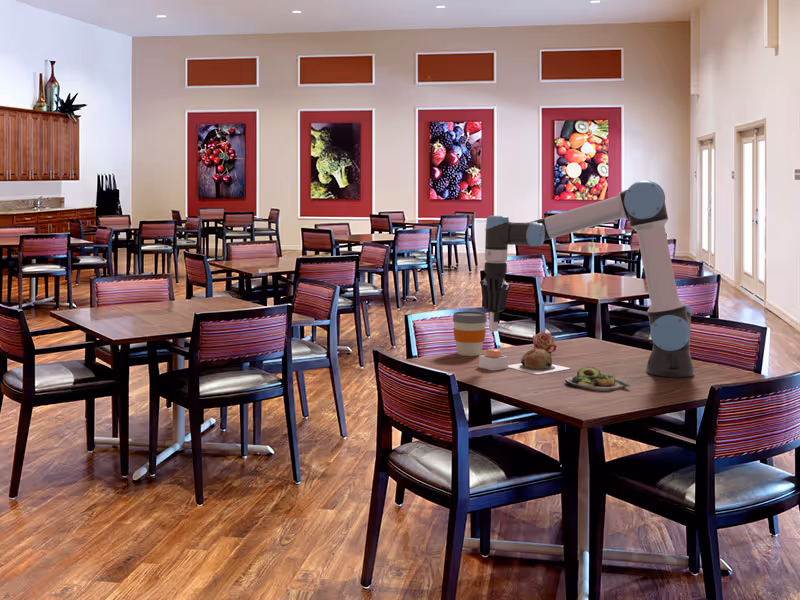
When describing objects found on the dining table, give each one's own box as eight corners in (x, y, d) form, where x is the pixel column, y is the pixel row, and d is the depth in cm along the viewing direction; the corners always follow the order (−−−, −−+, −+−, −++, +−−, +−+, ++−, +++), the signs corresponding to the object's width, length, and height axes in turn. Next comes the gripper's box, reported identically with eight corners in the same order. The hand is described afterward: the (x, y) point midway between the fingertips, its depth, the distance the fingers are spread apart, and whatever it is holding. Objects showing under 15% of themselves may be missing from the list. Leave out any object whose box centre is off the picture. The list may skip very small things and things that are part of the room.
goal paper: (536, 361, 306) (536, 360, 306) (570, 369, 293) (571, 368, 293) (504, 366, 296) (504, 365, 296) (537, 375, 283) (537, 373, 283)
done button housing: (494, 364, 299) (494, 353, 299) (508, 368, 294) (508, 356, 293) (479, 367, 295) (479, 355, 295) (492, 370, 290) (493, 358, 289)
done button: (494, 357, 298) (494, 348, 297) (504, 359, 294) (504, 350, 293) (483, 358, 295) (483, 350, 294) (493, 361, 291) (493, 352, 290)
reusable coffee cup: (445, 353, 318) (446, 313, 316) (464, 349, 328) (464, 310, 326) (474, 358, 311) (475, 317, 309) (492, 353, 321) (493, 313, 319)
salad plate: (643, 387, 269) (643, 372, 268) (612, 396, 256) (612, 381, 256) (589, 377, 283) (590, 363, 282) (558, 385, 270) (558, 371, 270)
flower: (524, 347, 323) (529, 332, 318) (543, 340, 327) (548, 326, 321) (539, 365, 317) (544, 350, 312) (558, 358, 321) (564, 343, 316)
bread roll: (538, 380, 289) (548, 360, 286) (513, 364, 294) (523, 344, 291) (550, 375, 297) (560, 356, 294) (526, 360, 302) (536, 340, 299)
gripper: (474, 260, 293) (472, 329, 296) (501, 263, 282) (498, 334, 286) (490, 259, 297) (488, 327, 300) (517, 263, 287) (514, 332, 290)
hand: (493, 330), depth 293 cm, fingers closed
